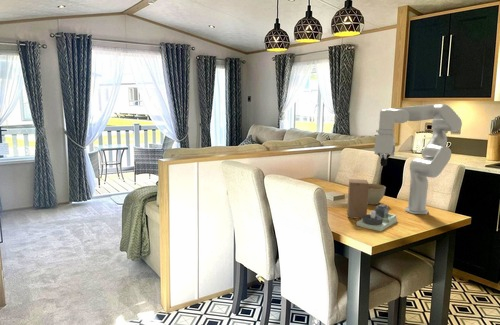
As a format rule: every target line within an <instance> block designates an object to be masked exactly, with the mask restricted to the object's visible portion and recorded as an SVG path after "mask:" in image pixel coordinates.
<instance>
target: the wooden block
mask: <svg viewBox="0 0 500 325" xmlns="http://www.w3.org/2000/svg"><path fill="white" fill-rule="evenodd" d="M368 189H369V181H368V180H367V179H358V178H357V179H356V178H355V179H354V178H349V179H348V192H347V207H346V208H347V209H346V212H347V218H350V219H351V218H352V219H353V218H354V219H363V216H365V215H367V214H368V204H367V203H368Z"/></svg>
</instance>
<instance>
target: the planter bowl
mask: <svg viewBox="0 0 500 325" xmlns="http://www.w3.org/2000/svg"><path fill="white" fill-rule="evenodd" d="M368 183H369V182H368ZM386 188H387V187H386V186H385V185H382V184H377V183H369V189H368V203H367V205H374V206H375V205H380V202H381V200H382V199H383V197H385V193H386Z"/></svg>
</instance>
